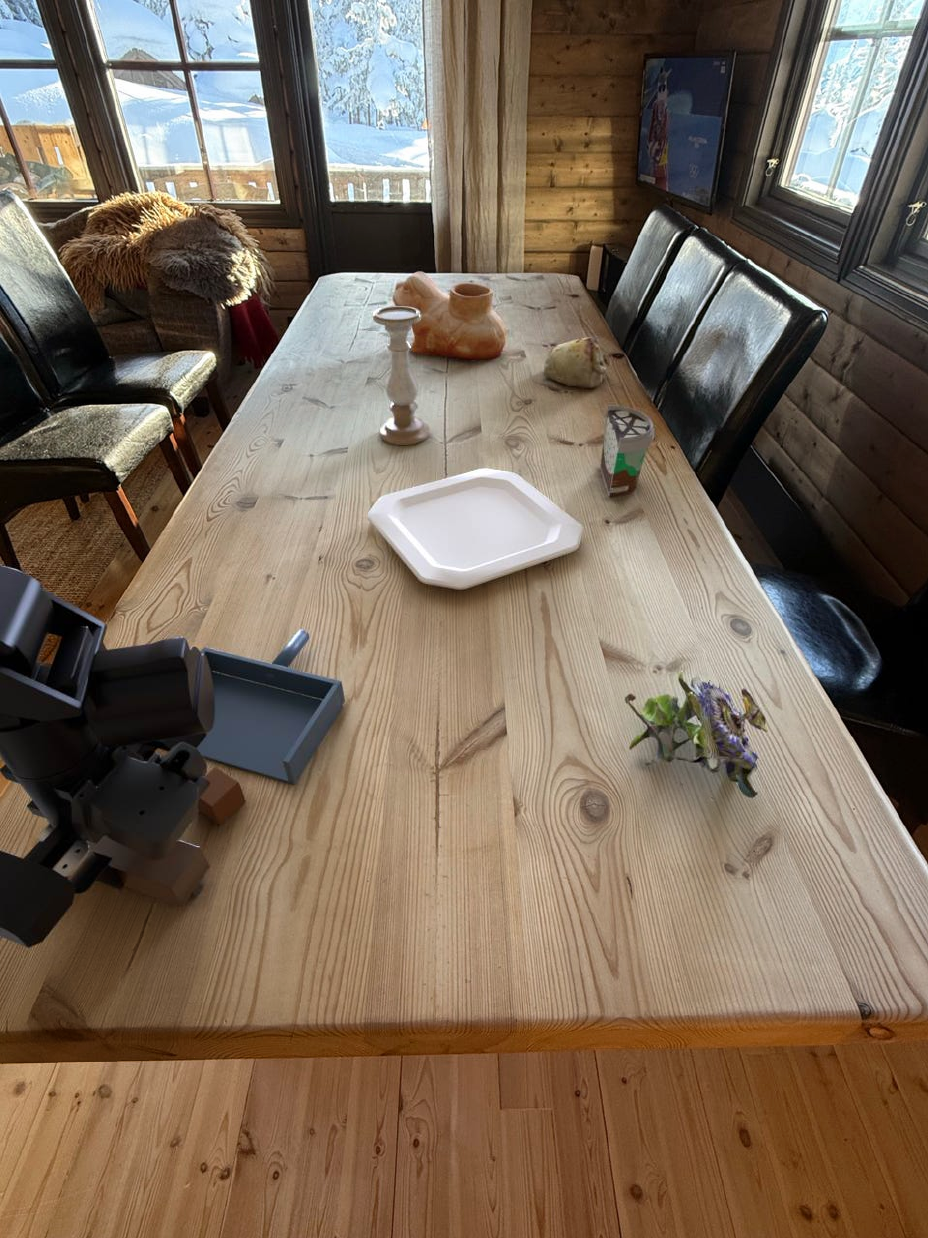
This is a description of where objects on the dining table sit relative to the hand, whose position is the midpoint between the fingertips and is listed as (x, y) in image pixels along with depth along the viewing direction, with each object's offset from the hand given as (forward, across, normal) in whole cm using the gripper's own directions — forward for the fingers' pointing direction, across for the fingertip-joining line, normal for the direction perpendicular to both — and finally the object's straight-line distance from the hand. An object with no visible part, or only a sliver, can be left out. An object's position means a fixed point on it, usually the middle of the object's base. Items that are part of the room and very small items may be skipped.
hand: (133, 864), depth 54 cm
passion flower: (+1, +26, -42) cm, 49 cm away
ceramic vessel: (+1, +126, +17) cm, 128 cm away
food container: (+1, +78, -29) cm, 83 cm away
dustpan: (+1, +20, 0) cm, 20 cm away
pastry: (+1, +118, -13) cm, 119 cm away
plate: (+1, +56, -11) cm, 58 cm away
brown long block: (+1, 0, 0) cm, 1 cm away
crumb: (+1, +8, -3) cm, 8 cm away
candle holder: (+1, +82, +10) cm, 83 cm away
